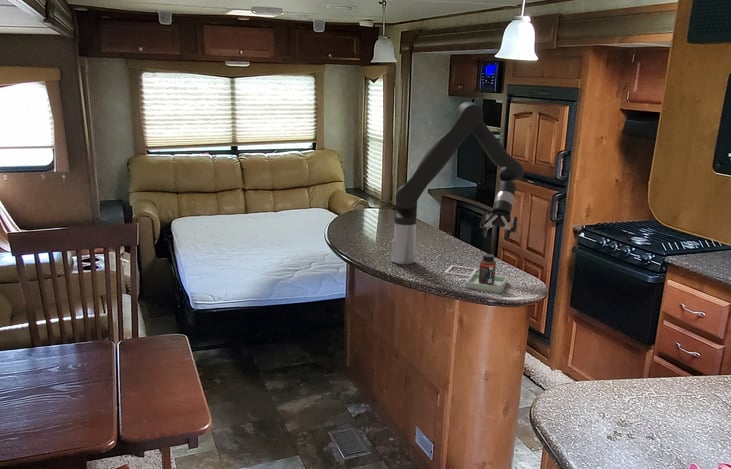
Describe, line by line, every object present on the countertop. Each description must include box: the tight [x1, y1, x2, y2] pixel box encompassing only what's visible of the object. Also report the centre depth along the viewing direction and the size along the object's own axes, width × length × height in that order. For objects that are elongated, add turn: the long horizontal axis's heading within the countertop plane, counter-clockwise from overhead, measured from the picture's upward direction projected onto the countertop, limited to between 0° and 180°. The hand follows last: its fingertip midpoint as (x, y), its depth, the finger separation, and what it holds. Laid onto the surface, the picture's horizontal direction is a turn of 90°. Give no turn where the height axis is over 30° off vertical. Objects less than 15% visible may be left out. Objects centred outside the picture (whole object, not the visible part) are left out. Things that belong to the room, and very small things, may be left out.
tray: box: [464, 271, 509, 294], centre depth 220 cm, size 14×14×2 cm
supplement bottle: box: [478, 253, 497, 285], centre depth 219 cm, size 6×6×11 cm
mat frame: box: [443, 264, 479, 278], centre depth 236 cm, size 11×11×1 cm
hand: (495, 238), depth 226 cm, fingers open, 8 cm apart
